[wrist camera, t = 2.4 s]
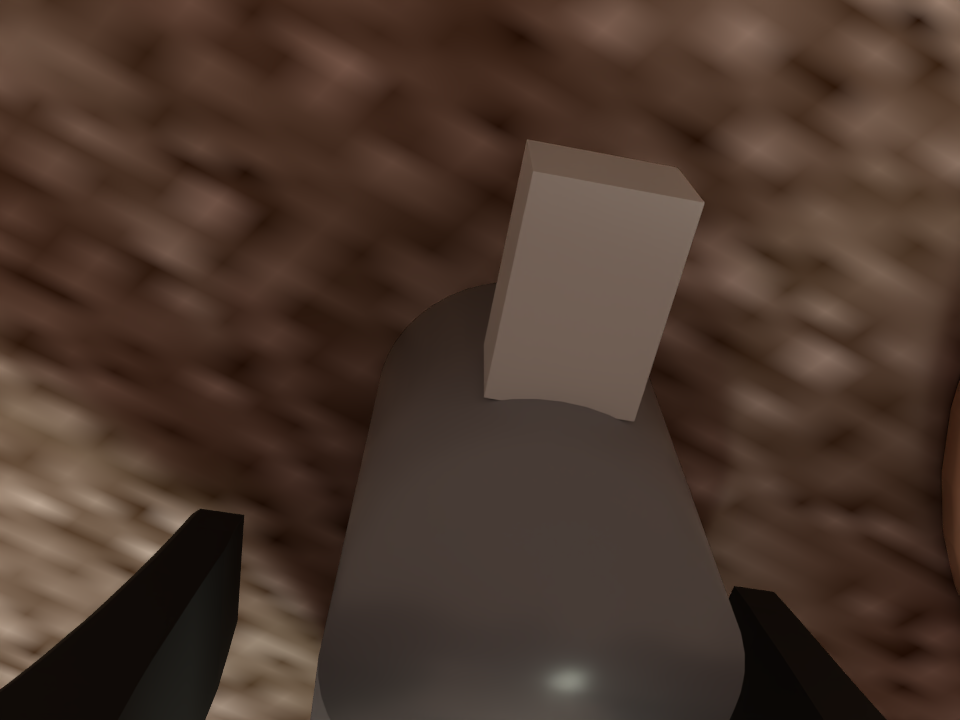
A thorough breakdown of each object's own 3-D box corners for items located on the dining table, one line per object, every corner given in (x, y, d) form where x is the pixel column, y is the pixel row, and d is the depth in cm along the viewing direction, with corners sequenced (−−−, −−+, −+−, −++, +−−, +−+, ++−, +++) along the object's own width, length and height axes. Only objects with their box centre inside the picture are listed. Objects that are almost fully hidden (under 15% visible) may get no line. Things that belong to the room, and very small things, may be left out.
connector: (543, 734, 16) (566, 1055, 11) (331, 707, 15) (270, 1028, 11) (738, 143, 10) (927, 311, 6) (422, 84, 10) (375, 214, 6)
